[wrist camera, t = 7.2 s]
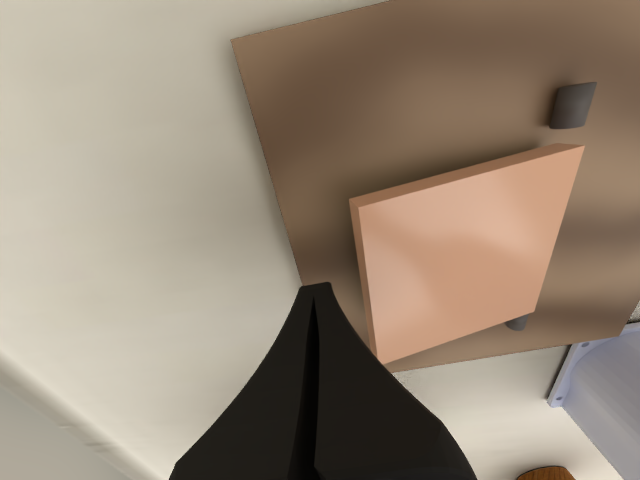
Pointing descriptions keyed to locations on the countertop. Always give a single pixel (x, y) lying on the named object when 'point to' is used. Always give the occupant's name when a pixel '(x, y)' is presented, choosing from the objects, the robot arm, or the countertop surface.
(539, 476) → the disposable coffee cup
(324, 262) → the board
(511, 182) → the tile
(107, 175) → the countertop surface
